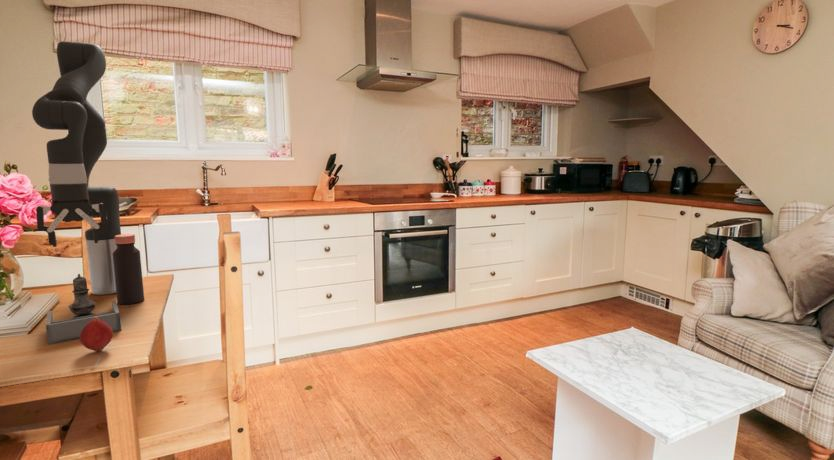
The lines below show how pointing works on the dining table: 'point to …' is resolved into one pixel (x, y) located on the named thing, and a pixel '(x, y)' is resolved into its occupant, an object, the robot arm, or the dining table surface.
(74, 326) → the box
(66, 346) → the dining table surface
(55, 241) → the robot arm
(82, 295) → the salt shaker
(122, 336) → the dining table surface
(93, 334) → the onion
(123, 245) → the bottle
